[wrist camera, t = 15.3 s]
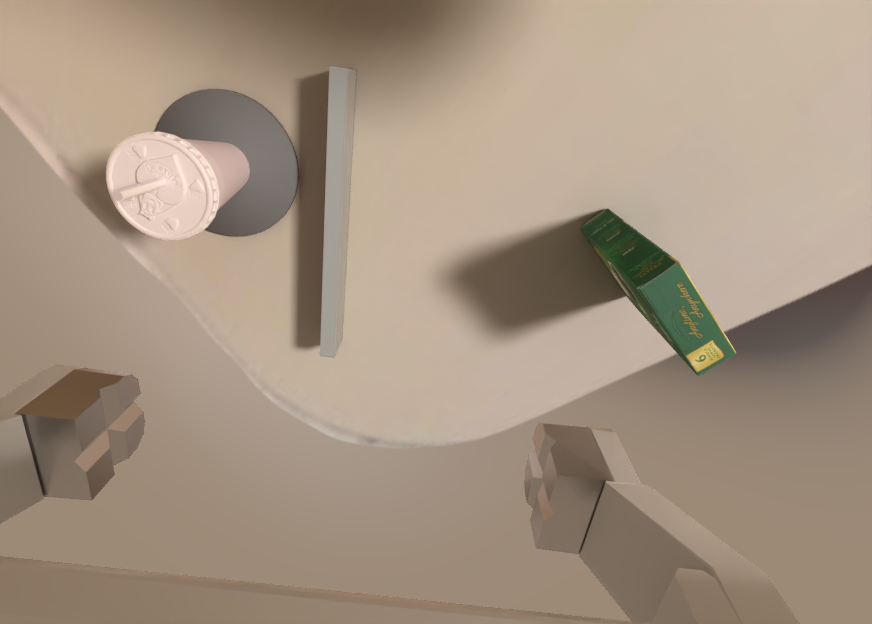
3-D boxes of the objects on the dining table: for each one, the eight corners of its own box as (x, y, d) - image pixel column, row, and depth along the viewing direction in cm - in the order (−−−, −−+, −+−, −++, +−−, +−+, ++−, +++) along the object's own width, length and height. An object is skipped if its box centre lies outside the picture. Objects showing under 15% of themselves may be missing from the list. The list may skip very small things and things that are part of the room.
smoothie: (281, 157, 38) (196, 190, 25) (244, 224, 40) (149, 286, 27) (204, 104, 36) (72, 110, 23) (170, 177, 38) (32, 219, 26)
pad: (149, 79, 36) (145, 79, 36) (299, 99, 36) (297, 100, 36) (164, 225, 40) (161, 227, 40) (298, 242, 41) (296, 244, 40)
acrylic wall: (340, 68, 35) (329, 65, 32) (356, 70, 35) (347, 68, 32) (329, 337, 44) (319, 356, 41) (342, 338, 44) (334, 357, 41)
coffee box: (657, 280, 42) (742, 357, 30) (627, 299, 42) (698, 382, 30) (609, 205, 39) (680, 255, 27) (577, 227, 40) (633, 285, 28)
